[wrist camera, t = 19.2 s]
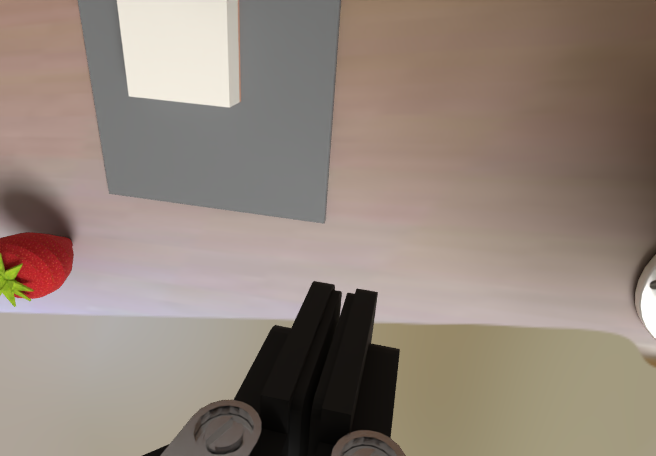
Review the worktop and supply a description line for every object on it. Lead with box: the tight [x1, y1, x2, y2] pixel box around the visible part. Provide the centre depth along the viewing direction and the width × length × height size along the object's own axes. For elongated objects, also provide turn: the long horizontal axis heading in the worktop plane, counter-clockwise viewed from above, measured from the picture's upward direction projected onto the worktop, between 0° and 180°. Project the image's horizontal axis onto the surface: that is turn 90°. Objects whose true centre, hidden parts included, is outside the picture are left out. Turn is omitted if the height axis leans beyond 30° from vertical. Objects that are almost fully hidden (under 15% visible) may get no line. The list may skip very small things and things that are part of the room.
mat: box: [78, 0, 341, 223], centre depth 34 cm, size 20×26×1 cm
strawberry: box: [0, 232, 74, 307], centre depth 41 cm, size 6×8×10 cm
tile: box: [117, 0, 241, 108], centre depth 33 cm, size 2×8×8 cm
